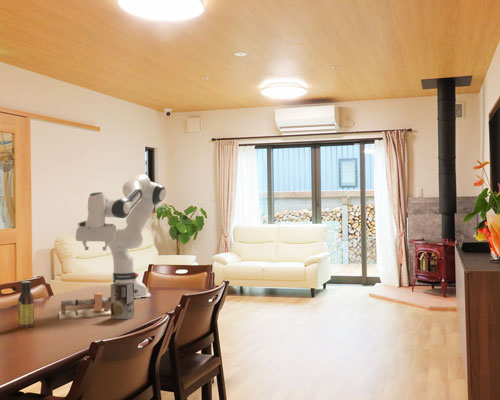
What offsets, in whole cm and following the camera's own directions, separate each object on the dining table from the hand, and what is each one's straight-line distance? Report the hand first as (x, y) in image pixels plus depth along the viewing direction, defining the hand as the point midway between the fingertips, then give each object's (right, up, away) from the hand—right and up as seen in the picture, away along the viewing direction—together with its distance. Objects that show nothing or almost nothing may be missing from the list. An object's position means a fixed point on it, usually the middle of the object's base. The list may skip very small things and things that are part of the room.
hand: (95, 250), depth 276 cm
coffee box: (+20, -30, -23) cm, 43 cm away
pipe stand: (0, -30, -16) cm, 34 cm away
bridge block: (+5, -28, -14) cm, 31 cm away
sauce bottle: (-18, -30, -42) cm, 55 cm away
